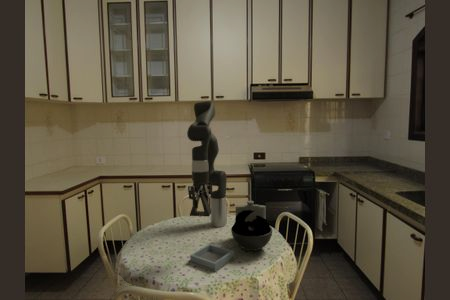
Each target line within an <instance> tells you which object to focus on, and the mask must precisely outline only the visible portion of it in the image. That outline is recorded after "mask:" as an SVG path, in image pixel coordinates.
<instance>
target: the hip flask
mask: <svg viewBox="0 0 450 300" xmlns="http://www.w3.org/2000/svg"><path fill="white" fill-rule="evenodd" d="M254 203H255V202H254V201H253V200H246V204H240V205H237V204H236V205H235V208H234V209H235V217H236V216H237V215H238V213H241V212H242V211H245V210H247V211H248V210H251V211H254V212H252V213H251V214H249V215H248V216H247V218H246V219H245V222H247V221H250V222H252V221H253V220H254V219H256V216H260V217H262V218H265V219H266V217H267V216H266V210H267V209H266V205H261V204H254ZM266 220H267V219H266Z"/></svg>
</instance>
